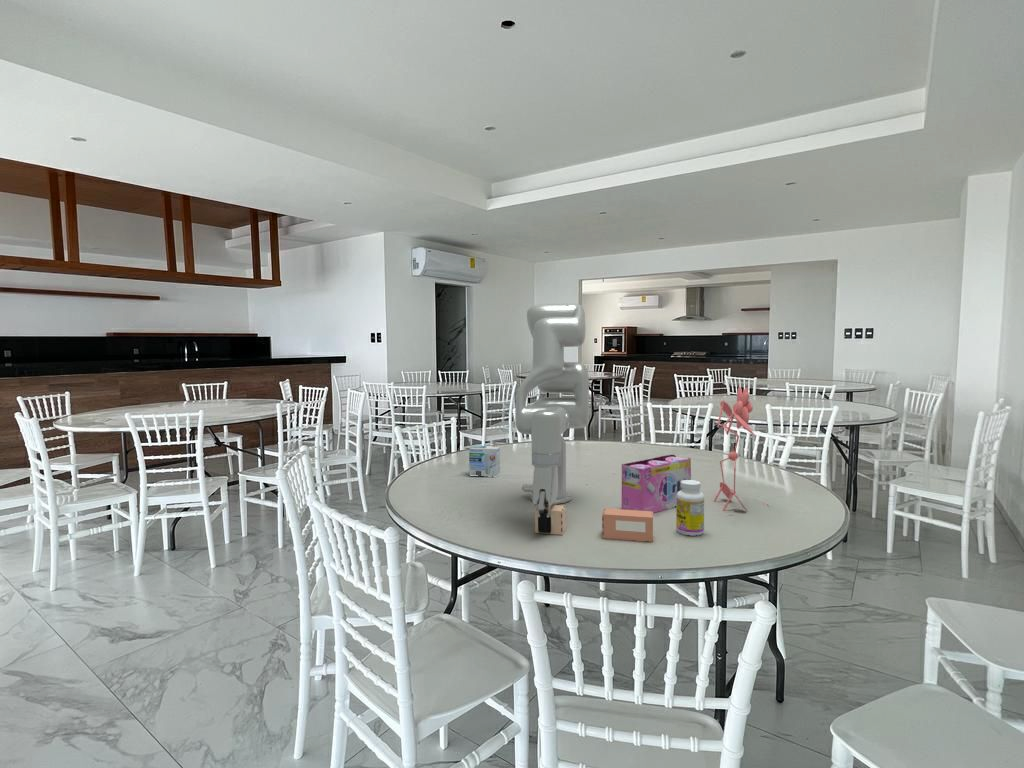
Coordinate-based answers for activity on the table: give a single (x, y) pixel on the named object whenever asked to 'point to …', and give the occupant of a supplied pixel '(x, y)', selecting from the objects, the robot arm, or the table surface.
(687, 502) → the supplement bottle
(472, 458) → the light bulb box
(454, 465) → the table surface
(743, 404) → the figurine
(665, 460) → the gum box
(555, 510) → the beige boxy piece
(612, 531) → the cardboard box
